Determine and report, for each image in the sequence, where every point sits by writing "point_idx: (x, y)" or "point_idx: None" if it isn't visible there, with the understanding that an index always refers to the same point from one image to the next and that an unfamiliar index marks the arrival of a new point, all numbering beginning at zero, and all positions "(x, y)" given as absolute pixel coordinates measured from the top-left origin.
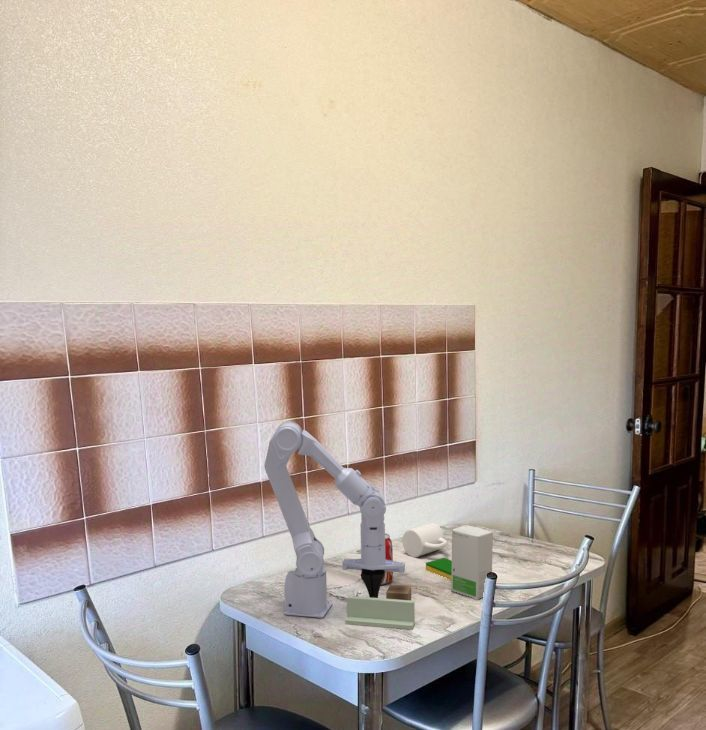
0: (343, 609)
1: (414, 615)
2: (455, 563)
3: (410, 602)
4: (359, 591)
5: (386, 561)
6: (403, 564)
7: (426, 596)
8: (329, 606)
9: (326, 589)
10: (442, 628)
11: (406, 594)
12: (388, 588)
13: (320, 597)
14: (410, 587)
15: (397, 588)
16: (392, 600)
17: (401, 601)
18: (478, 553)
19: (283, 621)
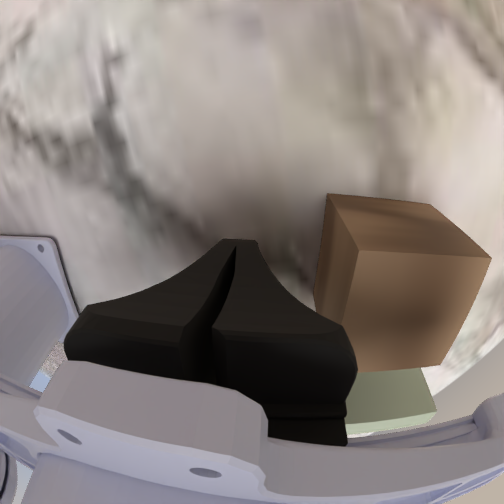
0: (110, 272)
1: (419, 368)
2: None
3: (418, 423)
4: (111, 37)
5: (386, 480)
6: (500, 474)
7: (489, 78)
8: (61, 281)
9: (22, 343)
10: (471, 352)
11: (432, 364)
12: (343, 323)
13: (41, 363)
14: (481, 282)
15: (405, 313)
16: (351, 430)
17: (387, 428)
18: None
19: None
